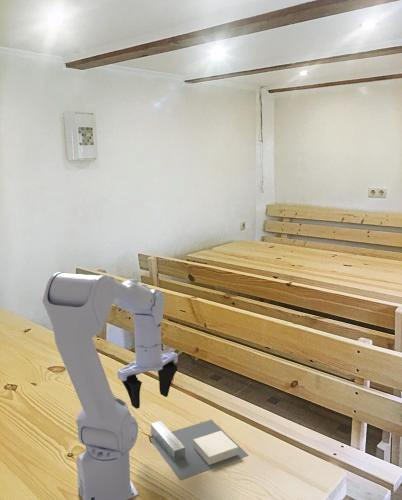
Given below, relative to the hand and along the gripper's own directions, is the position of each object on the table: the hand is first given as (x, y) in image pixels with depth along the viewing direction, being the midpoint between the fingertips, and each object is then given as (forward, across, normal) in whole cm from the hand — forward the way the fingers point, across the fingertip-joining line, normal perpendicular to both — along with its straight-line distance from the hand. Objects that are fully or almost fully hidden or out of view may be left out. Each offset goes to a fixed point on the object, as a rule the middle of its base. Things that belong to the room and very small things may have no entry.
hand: (150, 400), depth 101 cm
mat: (+9, +6, -9) cm, 14 cm away
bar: (+8, +2, -5) cm, 9 cm away
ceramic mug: (+10, -2, +17) cm, 20 cm away
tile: (+8, +8, -10) cm, 15 cm away
